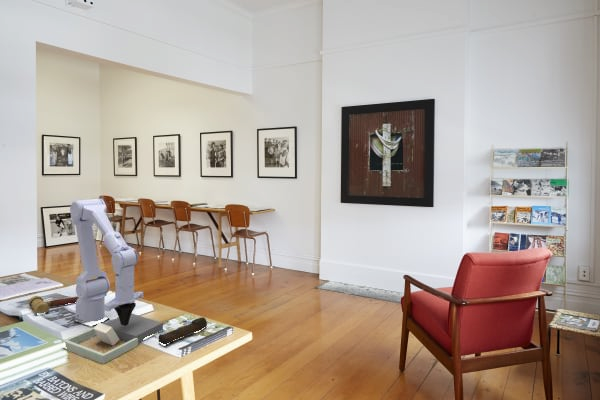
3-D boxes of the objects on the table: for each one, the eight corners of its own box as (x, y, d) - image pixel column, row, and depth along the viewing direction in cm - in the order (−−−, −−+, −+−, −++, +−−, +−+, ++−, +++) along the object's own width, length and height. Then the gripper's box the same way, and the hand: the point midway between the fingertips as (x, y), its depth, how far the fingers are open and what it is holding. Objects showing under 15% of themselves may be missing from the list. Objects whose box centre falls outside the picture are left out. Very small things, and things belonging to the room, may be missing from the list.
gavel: (87, 289, 170) (96, 296, 163) (86, 299, 170) (95, 307, 163) (28, 296, 154) (35, 304, 147) (27, 308, 155) (34, 317, 148)
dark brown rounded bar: (164, 348, 131) (165, 335, 130) (157, 344, 133) (157, 331, 132) (211, 330, 145) (211, 318, 145) (204, 327, 148) (204, 315, 147)
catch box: (62, 348, 127) (62, 340, 126) (98, 332, 138) (98, 325, 138) (103, 364, 119) (103, 355, 119) (138, 345, 131) (138, 338, 131)
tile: (106, 334, 135) (100, 340, 133) (99, 322, 131) (93, 328, 130) (119, 339, 132) (113, 345, 130) (112, 327, 129) (106, 333, 127)
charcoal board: (101, 333, 138) (100, 324, 138) (129, 320, 149) (129, 312, 148) (135, 344, 131) (135, 336, 131) (162, 330, 142) (162, 322, 142)
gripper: (115, 294, 127) (115, 335, 128) (150, 281, 140) (149, 319, 141) (99, 289, 130) (99, 330, 131) (135, 277, 143) (134, 315, 144)
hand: (124, 324), depth 137 cm, fingers closed
